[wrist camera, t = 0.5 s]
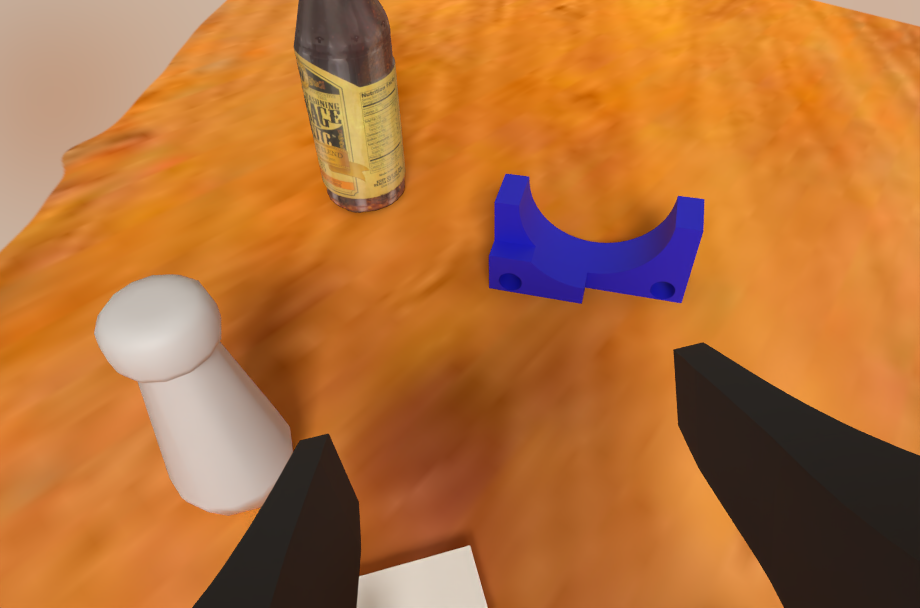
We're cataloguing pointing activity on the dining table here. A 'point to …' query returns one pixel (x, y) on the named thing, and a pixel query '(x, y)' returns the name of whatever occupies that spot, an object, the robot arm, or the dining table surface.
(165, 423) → the salt shaker
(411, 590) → the peg base
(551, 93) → the dining table surface
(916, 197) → the dining table surface
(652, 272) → the blue cradle stand
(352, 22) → the sauce bottle
